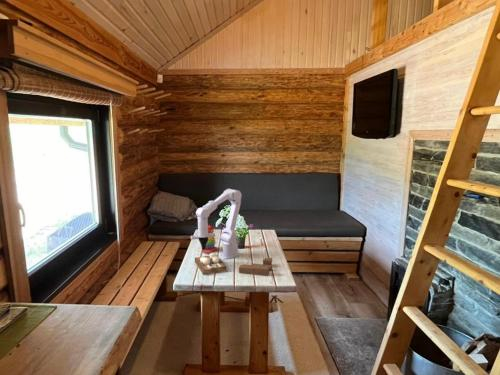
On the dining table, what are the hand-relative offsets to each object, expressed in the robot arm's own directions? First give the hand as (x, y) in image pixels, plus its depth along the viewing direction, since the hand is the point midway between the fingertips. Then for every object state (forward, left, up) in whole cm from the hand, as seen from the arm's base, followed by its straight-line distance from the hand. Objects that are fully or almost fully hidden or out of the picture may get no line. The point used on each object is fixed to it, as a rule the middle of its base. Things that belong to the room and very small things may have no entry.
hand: (203, 249), depth 196 cm
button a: (0, 0, -9) cm, 9 cm away
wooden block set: (-27, +18, -11) cm, 34 cm away
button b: (0, +6, -7) cm, 9 cm away
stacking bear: (-9, -22, -10) cm, 26 cm away
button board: (-3, +4, -10) cm, 11 cm away
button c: (-6, 0, -7) cm, 9 cm away
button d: (-6, +6, -7) cm, 11 cm away
